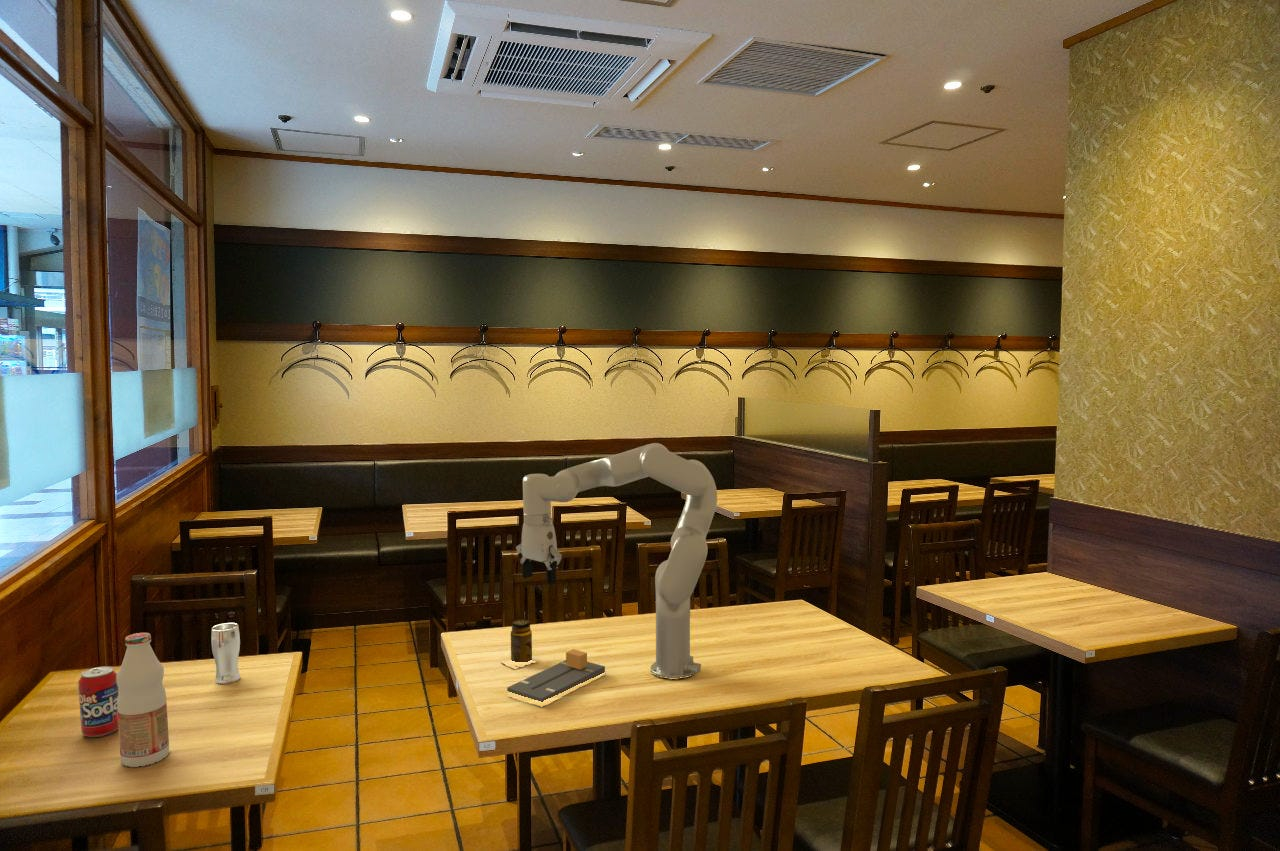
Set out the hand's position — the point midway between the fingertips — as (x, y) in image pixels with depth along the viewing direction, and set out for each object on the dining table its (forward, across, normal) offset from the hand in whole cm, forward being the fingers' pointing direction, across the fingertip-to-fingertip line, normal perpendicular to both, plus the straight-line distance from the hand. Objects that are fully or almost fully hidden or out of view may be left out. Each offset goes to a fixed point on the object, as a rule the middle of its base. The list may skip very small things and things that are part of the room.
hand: (539, 580), depth 232 cm
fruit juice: (+26, +32, +90) cm, 99 cm away
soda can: (+26, +54, +92) cm, 110 cm away
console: (+27, -9, +3) cm, 28 cm away
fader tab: (+24, -9, -5) cm, 26 cm away
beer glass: (+26, +63, +59) cm, 90 cm away
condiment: (+27, +11, -1) cm, 29 cm away
